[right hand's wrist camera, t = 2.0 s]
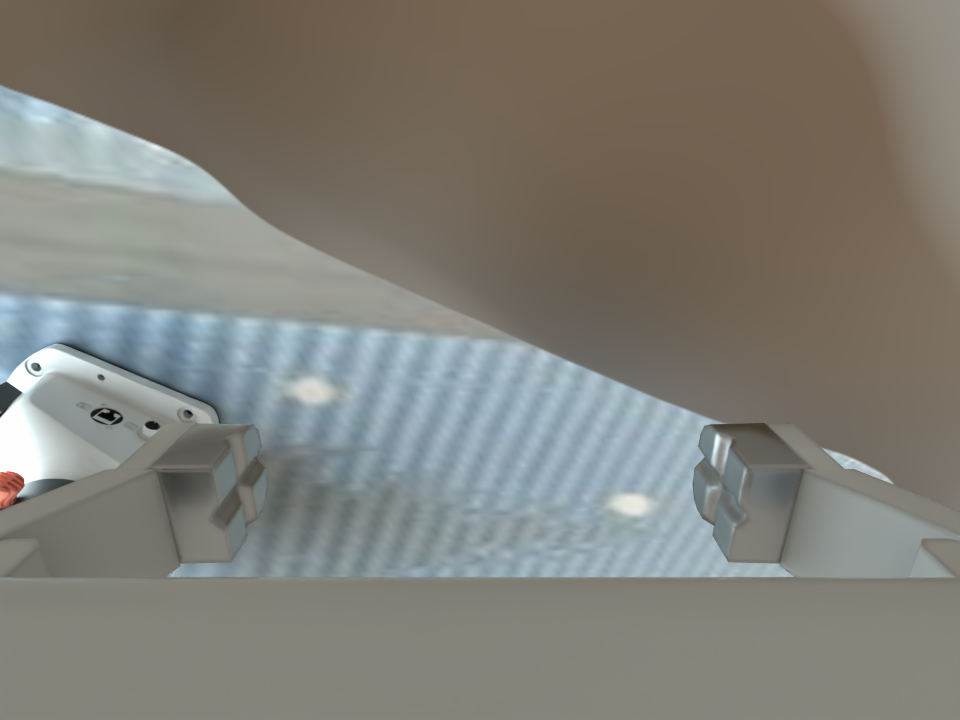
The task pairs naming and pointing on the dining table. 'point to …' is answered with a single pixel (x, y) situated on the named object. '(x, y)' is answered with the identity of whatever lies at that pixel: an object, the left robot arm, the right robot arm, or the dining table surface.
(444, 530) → the dining table surface
